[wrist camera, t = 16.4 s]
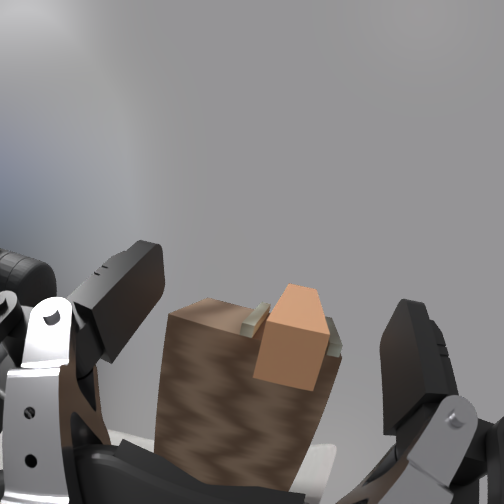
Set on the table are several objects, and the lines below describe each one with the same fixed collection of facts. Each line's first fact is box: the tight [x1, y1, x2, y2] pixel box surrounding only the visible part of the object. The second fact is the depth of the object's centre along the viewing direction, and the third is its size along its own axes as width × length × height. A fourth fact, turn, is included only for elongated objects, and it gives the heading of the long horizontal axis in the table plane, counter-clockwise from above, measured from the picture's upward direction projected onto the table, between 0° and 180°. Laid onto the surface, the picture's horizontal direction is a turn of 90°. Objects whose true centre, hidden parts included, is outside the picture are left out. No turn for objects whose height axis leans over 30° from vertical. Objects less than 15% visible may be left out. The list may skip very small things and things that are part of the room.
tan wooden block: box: [253, 284, 330, 391], centre depth 29 cm, size 4×24×4 cm, turn 169°
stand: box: [154, 298, 342, 492], centre depth 32 cm, size 17×12×33 cm
